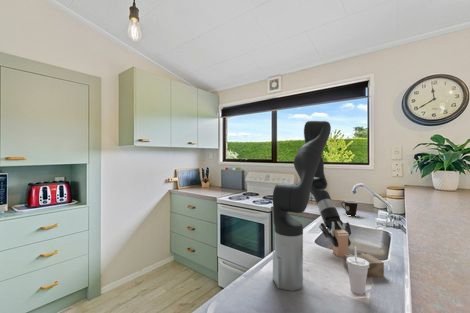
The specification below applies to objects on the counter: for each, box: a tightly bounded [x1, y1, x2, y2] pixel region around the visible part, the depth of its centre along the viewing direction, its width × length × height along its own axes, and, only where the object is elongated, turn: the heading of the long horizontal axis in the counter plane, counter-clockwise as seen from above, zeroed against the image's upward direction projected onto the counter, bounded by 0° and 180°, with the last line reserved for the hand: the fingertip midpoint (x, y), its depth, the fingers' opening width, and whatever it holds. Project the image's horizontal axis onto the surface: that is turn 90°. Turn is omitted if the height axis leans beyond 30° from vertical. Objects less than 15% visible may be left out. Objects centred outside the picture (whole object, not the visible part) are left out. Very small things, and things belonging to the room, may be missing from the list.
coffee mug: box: [340, 200, 359, 217], centre depth 163 cm, size 12×9×10 cm
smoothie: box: [346, 246, 369, 295], centre depth 70 cm, size 6×6×14 cm
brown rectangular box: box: [343, 252, 385, 278], centre depth 82 cm, size 10×8×5 cm
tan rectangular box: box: [332, 230, 349, 257], centre depth 96 cm, size 5×4×10 cm
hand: (343, 245), depth 94 cm, fingers open, 4 cm apart
